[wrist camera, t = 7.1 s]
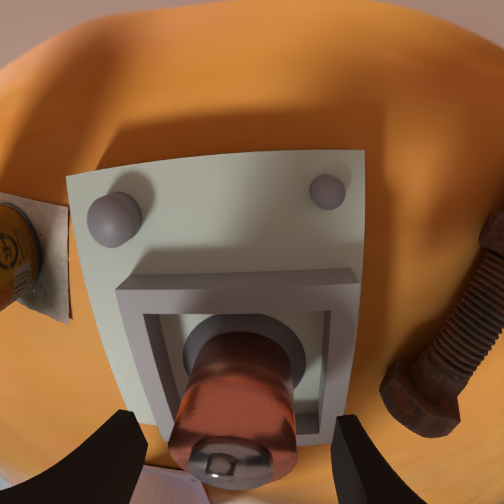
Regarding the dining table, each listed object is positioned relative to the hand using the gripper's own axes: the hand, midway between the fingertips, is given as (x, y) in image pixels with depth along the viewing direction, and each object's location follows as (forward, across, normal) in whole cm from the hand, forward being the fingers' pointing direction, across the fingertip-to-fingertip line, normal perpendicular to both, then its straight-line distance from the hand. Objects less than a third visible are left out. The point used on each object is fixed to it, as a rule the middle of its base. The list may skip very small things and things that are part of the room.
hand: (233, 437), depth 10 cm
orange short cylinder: (+4, 0, 0) cm, 4 cm away
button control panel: (+7, +1, -2) cm, 7 cm away
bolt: (+7, -13, -2) cm, 15 cm away
